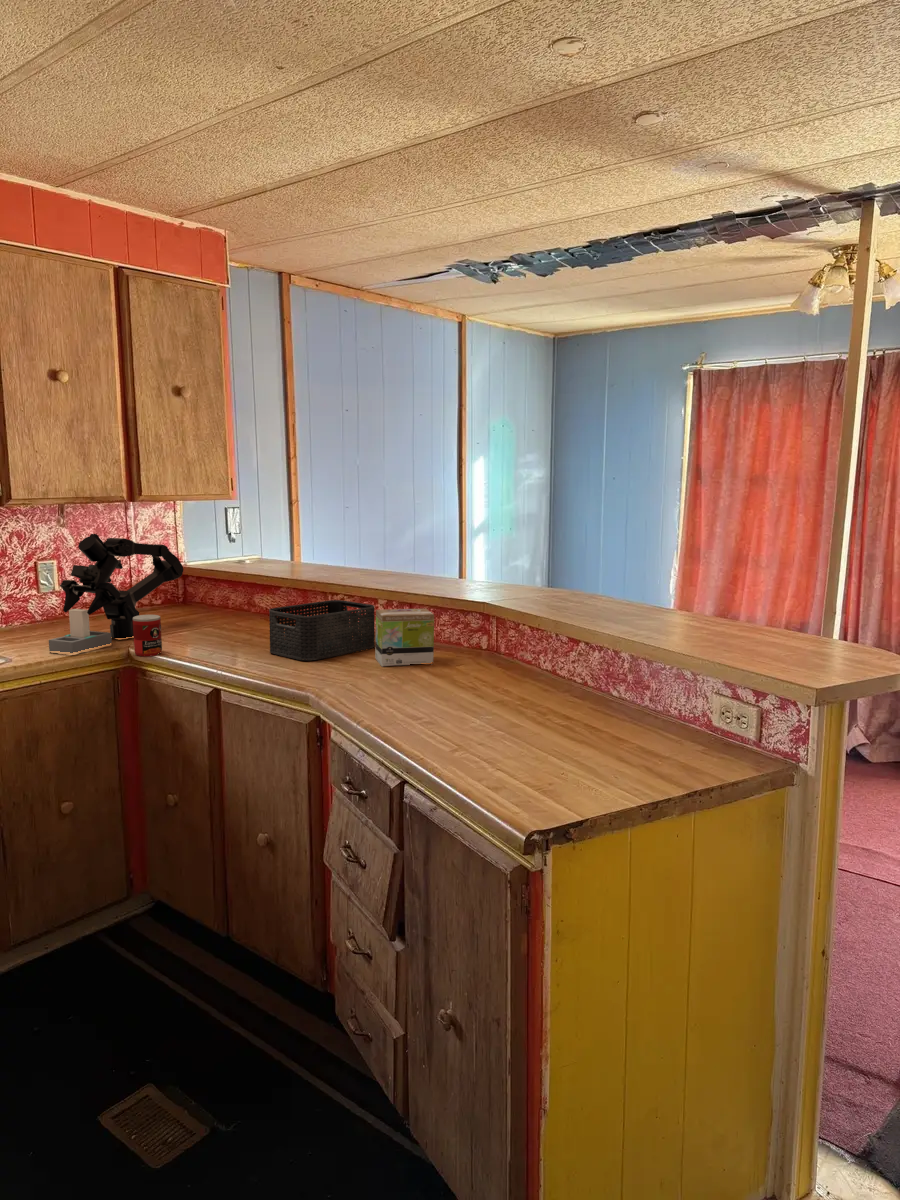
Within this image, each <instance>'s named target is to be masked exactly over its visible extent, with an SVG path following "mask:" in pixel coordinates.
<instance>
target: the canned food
mask: <svg viewBox="0 0 900 1200" xmlns="http://www.w3.org/2000/svg"><path fill="white" fill-rule="evenodd" d="M133 635H134V639H133V647H134V648H133V649H134V654H135V655H136V656H137V657H155V656H158V655H157V654H158V653H160V652H161V653H162V651H163V643H162V622H161V615H158V614H139V616H135V617H133Z"/></svg>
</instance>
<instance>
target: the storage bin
mask: <svg viewBox="0 0 900 1200" xmlns="http://www.w3.org/2000/svg"><path fill="white" fill-rule="evenodd" d="M348 607H349V608H355V609H350V610H348ZM268 612H269V624H268V625H269V653H271V654H272V655H276V656H280V657H285V658H288V659H292V660H296V661H320V660H324V659H329V658H334V657H335V658H336V657H339V656H343V655H344V656H345V655H349V654H352V653H353V652H354V653H357V652H356V651H359V652H362V651H361V650H364V651H367V650H366V649H368V650H370V648H371V649H374V648H375V643H376V634H375V632H376V628H375V625H376V621H375V619H376V615H375V605H373V604H369V603H363V602H354V601H348V600H343V599H342V600H340V599H330V600H323V601H322V600H321V601H317V602H308V603H301V604H300V603H299V604H295V605H286V606H280V607H279V606H278V607H273V608H269V610H268ZM373 647H374V648H373ZM348 653H349V654H348ZM354 653H353V654H354Z"/></svg>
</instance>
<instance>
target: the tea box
mask: <svg viewBox="0 0 900 1200" xmlns="http://www.w3.org/2000/svg"><path fill="white" fill-rule="evenodd" d="M374 645H375V647H374V648H375V649H374V650H375V652H374V654H375V655H374V657H375V660H376V661H377V663H378V664H379V665H380V666H381V667H389V666H393V667H394V666H411V665H410V664H421V663H431V662H433V663H434V654H435V653H434V652H435V651H434V650H435V646H434V645H435V614H434V613H433V612H431V611H430V610H429V609H428V608H393V609H389V608H388V609H375V644H374Z"/></svg>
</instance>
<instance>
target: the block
mask: <svg viewBox="0 0 900 1200" xmlns="http://www.w3.org/2000/svg"><path fill="white" fill-rule="evenodd" d="M87 611H88V609H83V608H71V609H70V610H69V611H68V619H69V632H70V633H69V634H70V635H71V637H77V638H85V637H89V636H90V631H91V629H90V618H89V617H90V615H89V614H88V613H87Z"/></svg>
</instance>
